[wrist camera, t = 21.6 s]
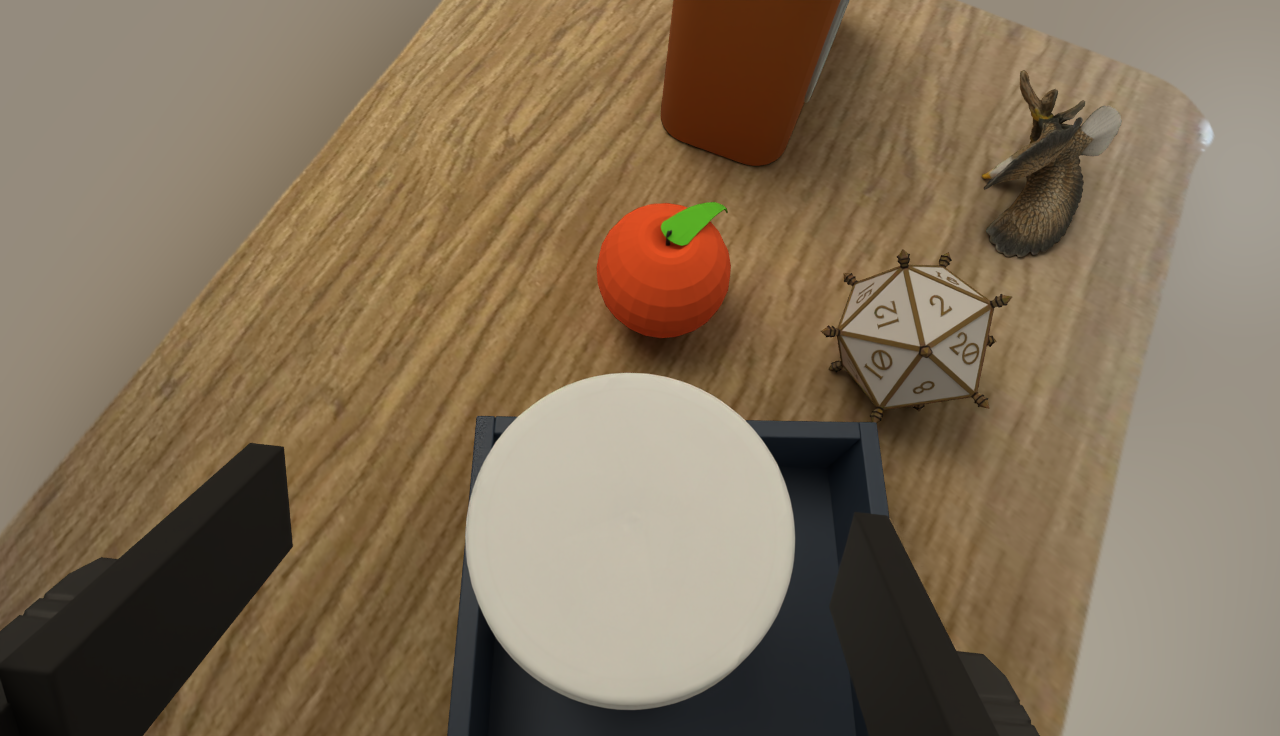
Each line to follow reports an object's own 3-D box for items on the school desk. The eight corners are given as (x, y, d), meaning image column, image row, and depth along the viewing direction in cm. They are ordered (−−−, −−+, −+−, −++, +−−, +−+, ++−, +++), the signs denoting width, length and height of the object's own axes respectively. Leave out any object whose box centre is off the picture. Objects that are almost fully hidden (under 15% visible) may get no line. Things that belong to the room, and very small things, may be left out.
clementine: (672, 218, 42) (686, 137, 36) (757, 296, 41) (788, 225, 34) (570, 298, 40) (565, 226, 33) (656, 383, 38) (668, 325, 32)
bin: (462, 865, 29) (430, 911, 24) (495, 453, 36) (476, 415, 31) (879, 859, 30) (942, 902, 25) (835, 458, 37) (876, 421, 32)
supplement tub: (756, 644, 32) (870, 628, 19) (560, 736, 31) (530, 792, 17) (670, 453, 36) (715, 323, 22) (488, 525, 34) (416, 432, 20)
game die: (886, 377, 43) (1061, 315, 36) (860, 480, 37) (1060, 429, 30) (799, 266, 41) (968, 177, 34) (756, 358, 35) (949, 273, 28)
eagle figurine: (958, 105, 45) (942, 195, 40) (1078, 37, 40) (1077, 132, 35) (1019, 187, 48) (1012, 280, 43) (1139, 133, 43) (1146, 233, 38)
